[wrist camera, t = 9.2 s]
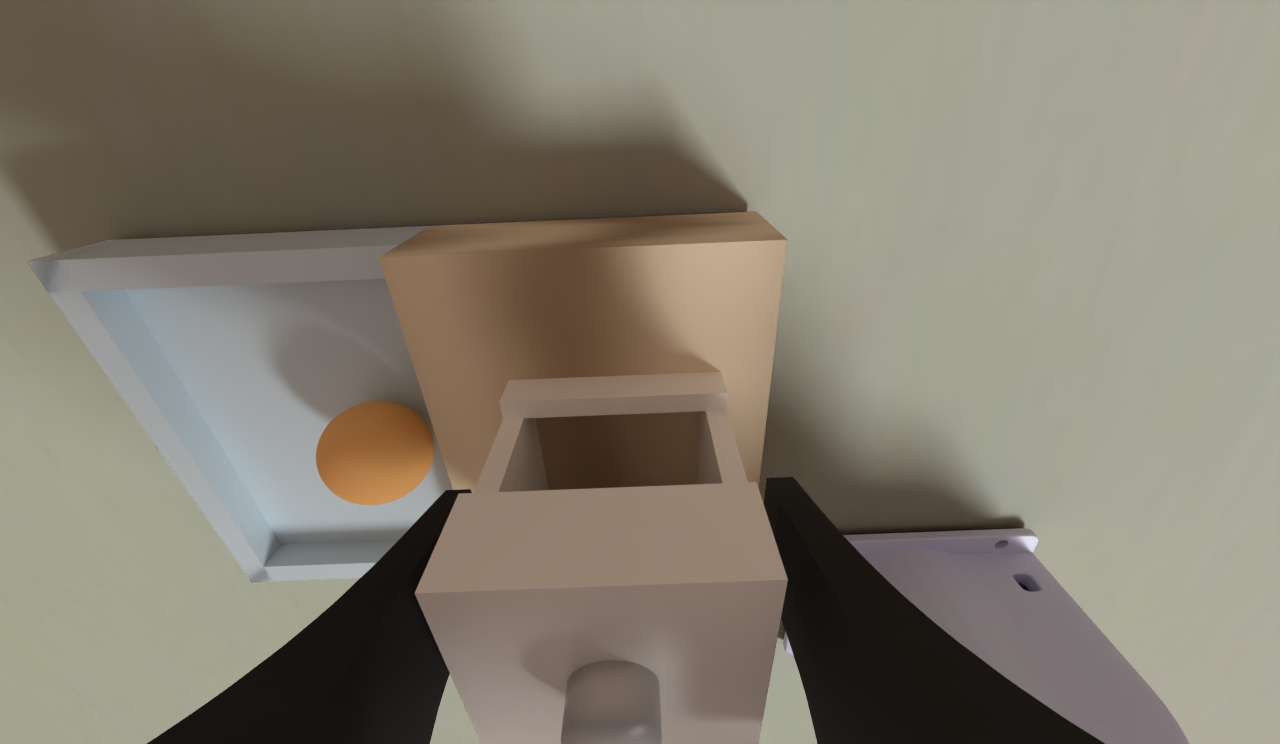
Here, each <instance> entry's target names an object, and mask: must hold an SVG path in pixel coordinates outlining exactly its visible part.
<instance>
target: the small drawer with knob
mask: <svg viewBox="0 0 1280 744" xmlns="http://www.w3.org/2000/svg"><path fill="white" fill-rule="evenodd" d="M727 395H728V392H727V389H726V386H725V383H724V380H723V377H722V374H721V372H698V373H673V374H649V375H625V376H600V377H576V378H551V379H527V380H509V381H508V383H507V386H506V388H505V390H504V392H503V395H502V397H501V399H500V401H499V403H500V408H501V412H502V416H503V421H502V423H501V426H500V428H499V431H498V433H497V436H496V438H495V440H494V443H493V445H492V448H491V450H490V453H489V455H488V458H487V460H486V463H485V465H484V468H483V470H482V472H481V475H480V477H479V480H478V482H477V485H476V487H475V490H474V492H473V493H463V494H458V496H457V499H456V501H455V503H454V505H453V508H452V510H451V512H450V514H449V517H448V519H447V521H446V523H445V526H444V528H443V530H442V532H441V535H440V537H439V539H438V541H437V544H436V546H435V548H434V550H433V553H432V555H431V557H430V560H429V562H428V564H427V566H426V569H425V571H424V573H423V575H422V578H421V580H420V582H419V584H418V587H417V589H416V591H415V596H416V598H417V600H418V602H419V605H420V607H421V609H422V611H423V614H424V616H425V618H426V621H427V623H428V625H429V627H430V630H431V632H432V634H433V636H434V639H435V641H436V643H437V645H438V648H439V650H440V652H441V654H442V657H443V659H444V661H445V664H446V666H447V668H448V670H449V673H450V675H451V677H452V679H453V682H454V684H455V686H456V688H457V691H458V693H459V695H460V698H461V700H462V702H463V704H464V707H465V709H466V711H467V713H468V716H469V718H470V720H471V722H472V725H473V727H474V729H475V731H476V734H477V736H478V738H479V741H480V743H481V744H758V743H759V737H760V731H761V726H762V720H763V715H764V709H765V704H766V698H767V693H768V687H769V682H770V676H771V670H772V665H773V659H774V654H775V648H776V643H777V637H778V632H779V626H780V620H781V615H782V609H783V604H784V598H785V593H786V587H787V582H788V579H787V575H786V572H785V569H784V566H783V563H782V560H781V557H780V554H779V551H778V547H777V544H776V541H775V538H774V535H773V532H772V529H771V526H770V523H769V520H768V516H767V513H766V510H765V507H764V504H763V501H762V498H761V495H760V492H759V488H758V485H757V482H748V480H747V477H746V473H745V470H744V467H743V463H742V460H741V457H740V453H739V450H738V447H737V443H736V440H735V437H734V433H733V430H732V427H731V423H730V420H729V417H728V413H727ZM695 411H700V430H699V466H698V484H695V485H669V486H643V487H617V488H591V489H566V490H549V488H548V483H547V477H546V472H545V467H544V461H543V456H542V450H541V445H540V440H539V434H538V429H537V423H536V418H546V417H571V416H596V415H621V414H646V413H671V412H695Z"/></svg>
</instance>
